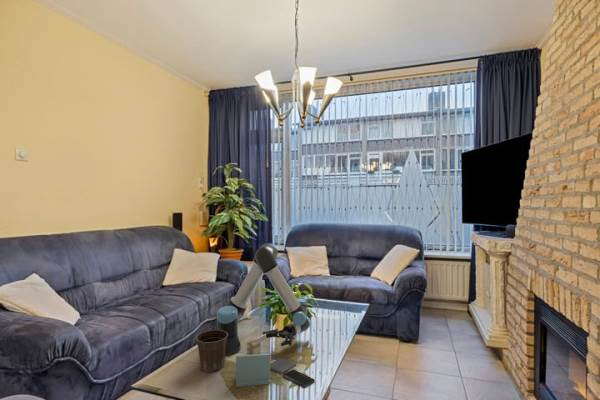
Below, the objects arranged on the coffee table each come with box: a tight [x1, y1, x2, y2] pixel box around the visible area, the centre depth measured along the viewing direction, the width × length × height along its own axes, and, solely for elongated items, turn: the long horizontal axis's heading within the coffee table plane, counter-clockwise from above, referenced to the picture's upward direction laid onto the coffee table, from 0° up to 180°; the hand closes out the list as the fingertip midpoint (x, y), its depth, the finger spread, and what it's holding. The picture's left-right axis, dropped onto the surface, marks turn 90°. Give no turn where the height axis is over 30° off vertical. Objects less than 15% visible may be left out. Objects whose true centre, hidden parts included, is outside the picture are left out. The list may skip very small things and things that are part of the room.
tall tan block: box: [246, 338, 261, 355], centre depth 176 cm, size 5×5×14 cm
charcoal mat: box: [270, 357, 297, 375], centre depth 178 cm, size 11×11×1 cm
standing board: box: [235, 353, 271, 387], centre depth 163 cm, size 5×16×13 cm, turn 97°
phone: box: [282, 369, 316, 389], centre depth 166 cm, size 8×1×15 cm
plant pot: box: [195, 329, 228, 373], centre depth 178 cm, size 16×16×16 cm
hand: (266, 343), depth 184 cm, fingers open, 13 cm apart
